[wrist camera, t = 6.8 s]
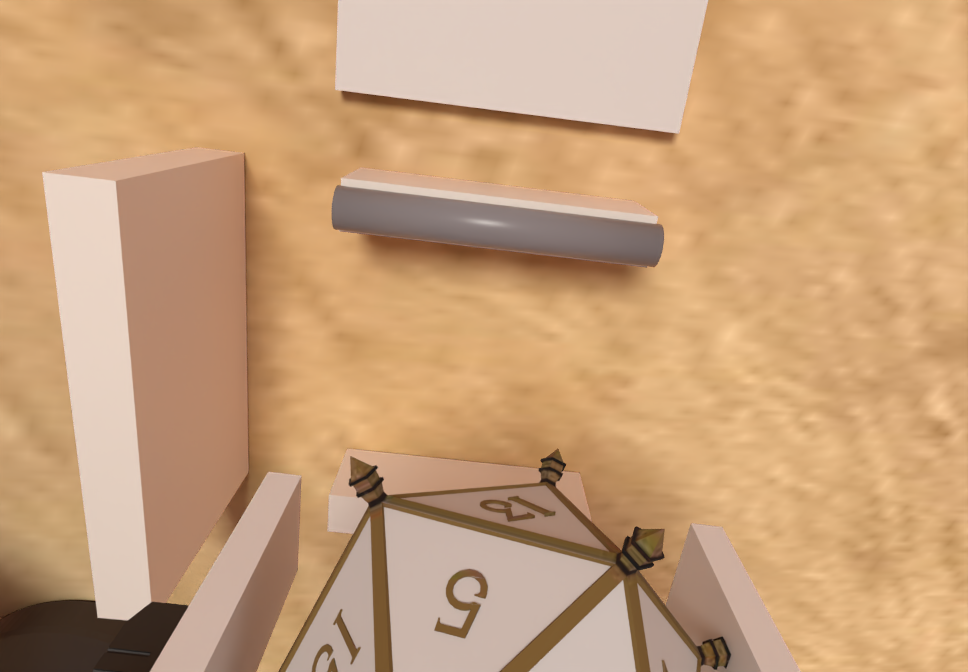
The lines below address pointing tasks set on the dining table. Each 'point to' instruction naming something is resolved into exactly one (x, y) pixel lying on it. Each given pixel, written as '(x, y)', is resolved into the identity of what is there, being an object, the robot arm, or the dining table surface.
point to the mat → (527, 56)
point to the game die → (492, 589)
